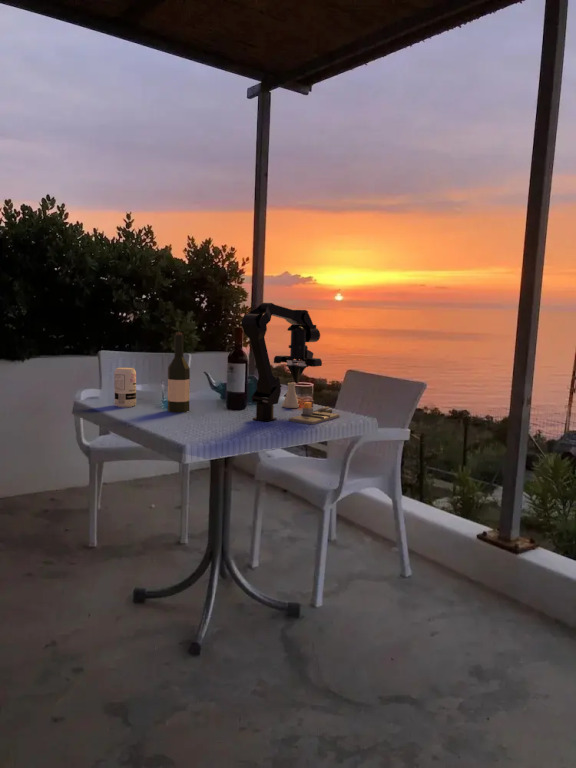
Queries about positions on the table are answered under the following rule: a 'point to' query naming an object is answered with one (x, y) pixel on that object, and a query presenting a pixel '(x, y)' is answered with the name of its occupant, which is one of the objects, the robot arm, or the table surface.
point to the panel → (314, 417)
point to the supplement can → (125, 387)
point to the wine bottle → (178, 379)
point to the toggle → (307, 408)
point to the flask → (291, 397)
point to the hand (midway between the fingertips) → (296, 383)
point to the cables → (324, 410)
